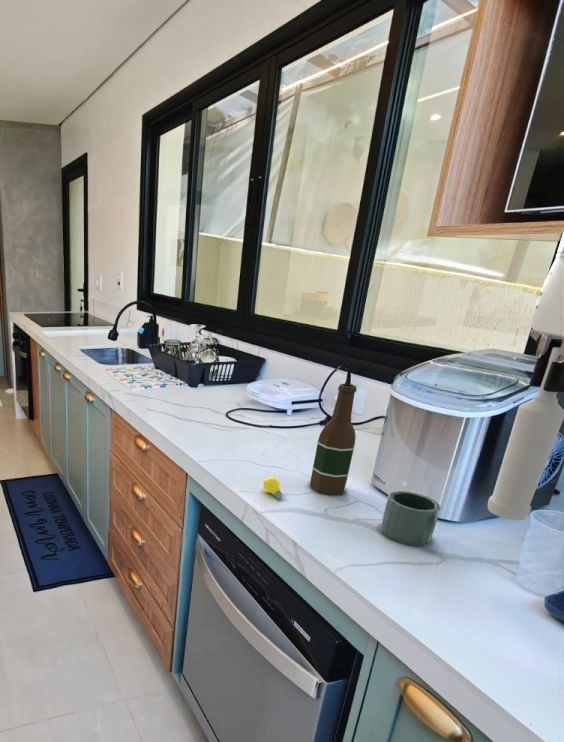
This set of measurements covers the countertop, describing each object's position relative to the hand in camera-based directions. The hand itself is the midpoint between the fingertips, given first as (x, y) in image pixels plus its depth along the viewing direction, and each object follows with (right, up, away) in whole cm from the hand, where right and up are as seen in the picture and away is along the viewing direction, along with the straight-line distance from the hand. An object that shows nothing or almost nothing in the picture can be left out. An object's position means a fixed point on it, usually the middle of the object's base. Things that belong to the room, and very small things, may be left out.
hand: (549, 387), depth 70 cm
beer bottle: (-12, -17, +45) cm, 49 cm away
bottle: (0, -18, +7) cm, 20 cm away
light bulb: (-25, -18, +41) cm, 51 cm away
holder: (-5, -24, +26) cm, 36 cm away
